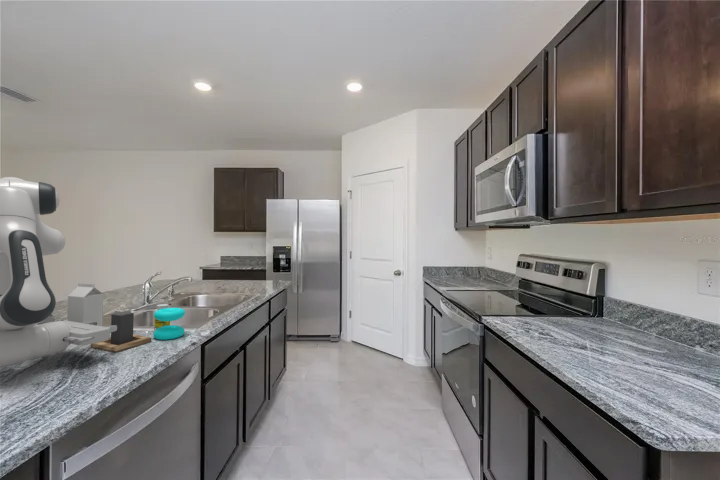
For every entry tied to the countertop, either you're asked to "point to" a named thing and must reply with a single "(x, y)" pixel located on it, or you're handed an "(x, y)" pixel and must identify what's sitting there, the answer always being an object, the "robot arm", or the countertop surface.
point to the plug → (122, 326)
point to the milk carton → (85, 305)
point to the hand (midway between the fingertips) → (105, 325)
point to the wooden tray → (110, 347)
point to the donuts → (169, 330)
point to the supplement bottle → (161, 323)
